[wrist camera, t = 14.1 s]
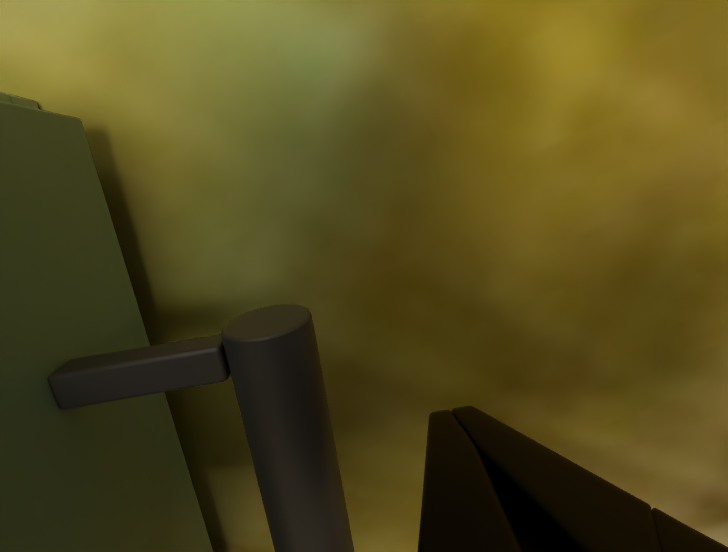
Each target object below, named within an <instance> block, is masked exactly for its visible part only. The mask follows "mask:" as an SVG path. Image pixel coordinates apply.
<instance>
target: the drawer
mask: <svg viewBox="0 0 728 552" xmlns="http://www.w3.org/2000/svg"><path fill="white" fill-rule="evenodd" d="M230 373H231V377H232V381H233V385H234V389H235V393H236V397H237V401H238V405H239V409H240V413H241V417H242V421H243V425H244V429H245V433H246V437H247V441H248V445H249V449H250V453H251V457H252V461H253V465H254V469H255V473H256V477H257V481H258V485H259V489H260V493H261V497H262V501H263V505H264V509H265V513H266V517H267V521H268V525H269V529H270V533H271V537H272V541H273V545H274V549H275V552H354V547H353V542H352V536H351V531H350V525H349V519H348V514H347V508H346V503H345V497H344V492H343V486H342V481H341V475H340V470H339V464H338V458H337V453H336V447H335V442H334V436H333V431H332V425H331V420H330V414H329V408H328V403H327V397H326V392H325V386H324V381H323V375H322V370H321V364H320V358H319V353H318V347H317V342H316V336H315V331H314V325H313V320H312V314H311V312H310V311H309V309H307V308H306V307H303V306H299V305H275V306H269V307H264V308H260V309H256V310H253V311H250V312H247V313H244V314H242V315H240V316H238V317H236V318H234V319H232V320H231V321H229V322H228V323H226V324H225V325H224V327H223V328H222V331H221V334H219V335H213V336H207V337H201V338H195V339H189V340H183V341H177V342H171V343H165V344H159V345H153V346H150V343H149V340H148V337H147V334H146V330H145V327H144V324H143V321H142V317H141V314H140V311H139V308H138V304H137V301H136V298H135V294H134V291H133V288H132V285H131V281H130V278H129V275H128V272H127V268H126V265H125V262H124V259H123V255H122V252H121V249H120V245H119V242H118V239H117V236H116V232H115V229H114V226H113V223H112V219H111V216H110V213H109V210H108V206H107V203H106V200H105V196H104V193H103V190H102V187H101V183H100V180H99V177H98V174H97V170H96V167H95V164H94V161H93V157H92V154H91V151H90V148H89V144H88V141H87V138H86V134H85V131H84V128H83V125H82V121H81V120H80V119H79V118H76V117H71V116H67V115H62V114H58V113H53V112H49V111H44V110H40V109H35V108H31V107H26V106H21V105H17V104H12V103H8V102H3V101H0V552H213V549H212V546H211V543H210V539H209V536H208V533H207V530H206V526H205V523H204V520H203V517H202V513H201V510H200V507H199V504H198V500H197V497H196V494H195V490H194V487H193V484H192V481H191V477H190V474H189V471H188V468H187V464H186V461H185V458H184V455H183V451H182V448H181V445H180V441H179V438H178V435H177V432H176V428H175V425H174V422H173V419H172V415H171V412H170V409H169V406H168V402H167V399H166V396H165V392H167V391H172V390H178V389H184V388H189V387H195V386H201V385H206V384H212V383H218V382H223V381H226V380H227V379H228V378H229V375H230Z"/></svg>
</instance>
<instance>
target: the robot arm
mask: <svg viewBox="0 0 728 552" xmlns="http://www.w3.org/2000/svg"><path fill="white" fill-rule="evenodd" d="M418 552H728V547H726V546H725V545H723V544H721V543H719V542H717V541H715V540H713V539H711V538H710V537H708V536H706V535H704V534H702V533H700V532H698V531H697V530H695V529H693V528H691V527H689V526H687V525H685V524H683V523H682V522H680V521H678V520H676V519H674V518H673V517H671V516H669V515H667V514H666V513H664V512H662V511H660V510H658V509H656V508H653V509H652V510H651V507H650V505H649V504H647V503H645V502H644V501H642V500H640V499H638V498H636V497H635V496H633V495H631V494H629V493H627V492H626V491H624V490H622V489H620V488H619V487H617V486H615V485H613V484H611V483H610V482H608V481H606V480H604V479H602V478H601V477H599V476H597V475H595V474H593V473H592V472H590V471H588V470H586V469H584V468H583V467H581V466H579V465H577V464H575V463H574V462H572V461H570V460H568V459H567V458H565V457H563V456H561V455H559V454H558V453H556V452H554V451H552V450H550V449H549V448H547V447H545V446H543V445H541V444H540V443H538V442H536V441H534V440H532V439H531V438H529V437H527V436H525V435H523V434H522V433H520V432H518V431H516V430H515V429H513V428H511V427H509V426H507V425H506V424H504V423H502V422H500V421H498V420H497V419H495V418H493V417H491V416H489V415H488V414H486V413H484V412H482V411H480V410H479V409H477V408H475V407H473V406H464V407H459V408H454V409H452V410H451V411H450V410H443V411H437V412H432V413H430V415H429V423H428V435H427V447H426V459H425V472H424V484H423V496H422V508H421V520H420V533H419V545H418Z"/></svg>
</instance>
